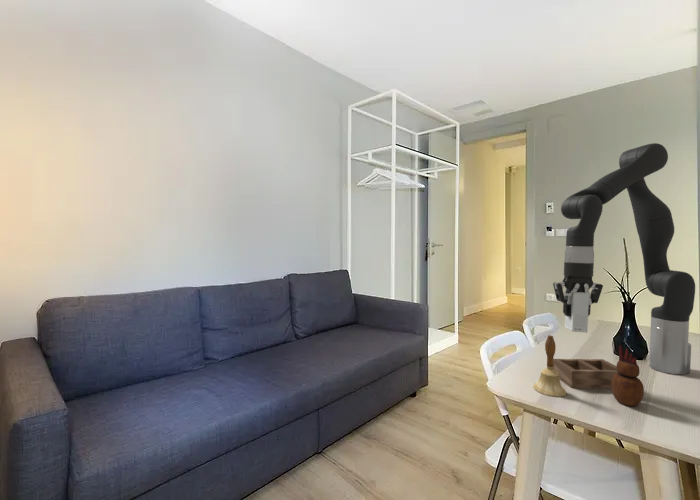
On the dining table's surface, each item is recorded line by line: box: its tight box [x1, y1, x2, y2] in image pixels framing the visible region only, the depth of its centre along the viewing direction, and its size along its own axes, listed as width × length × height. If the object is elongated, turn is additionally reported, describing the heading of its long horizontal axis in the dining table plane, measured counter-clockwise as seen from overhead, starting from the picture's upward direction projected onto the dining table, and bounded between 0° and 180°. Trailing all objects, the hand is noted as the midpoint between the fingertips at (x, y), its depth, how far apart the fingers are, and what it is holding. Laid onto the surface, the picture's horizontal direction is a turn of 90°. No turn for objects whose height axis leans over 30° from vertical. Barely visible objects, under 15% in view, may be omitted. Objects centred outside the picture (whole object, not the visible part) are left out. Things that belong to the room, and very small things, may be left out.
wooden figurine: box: [610, 345, 645, 407], centre depth 90 cm, size 7×6×15 cm
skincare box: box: [564, 292, 589, 333], centre depth 104 cm, size 6×4×12 cm
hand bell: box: [532, 335, 568, 398], centre depth 97 cm, size 8×8×16 cm
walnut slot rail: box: [553, 358, 618, 389], centre depth 104 cm, size 16×10×5 cm, turn 89°
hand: (576, 315), depth 104 cm, fingers closed on skincare box, 4 cm apart
